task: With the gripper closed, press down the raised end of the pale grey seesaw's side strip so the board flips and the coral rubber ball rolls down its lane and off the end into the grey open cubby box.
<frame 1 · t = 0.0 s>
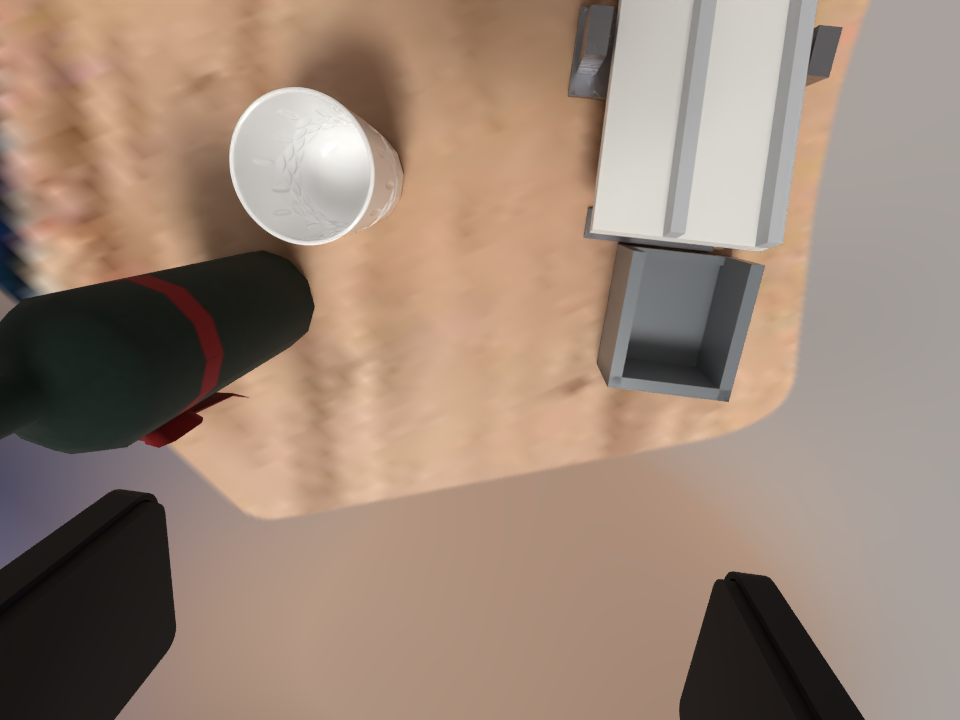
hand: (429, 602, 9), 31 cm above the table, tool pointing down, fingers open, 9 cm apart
white cup: (358, 177, 37), on the table
stand: (682, 64, 33), on the table
seesaw: (708, 39, 29), point 5 cm above the table, hinge at -15.0°, touching ball
grey open cubby box: (661, 312, 38), on the table
wine bottle: (266, 315, 41), on the table
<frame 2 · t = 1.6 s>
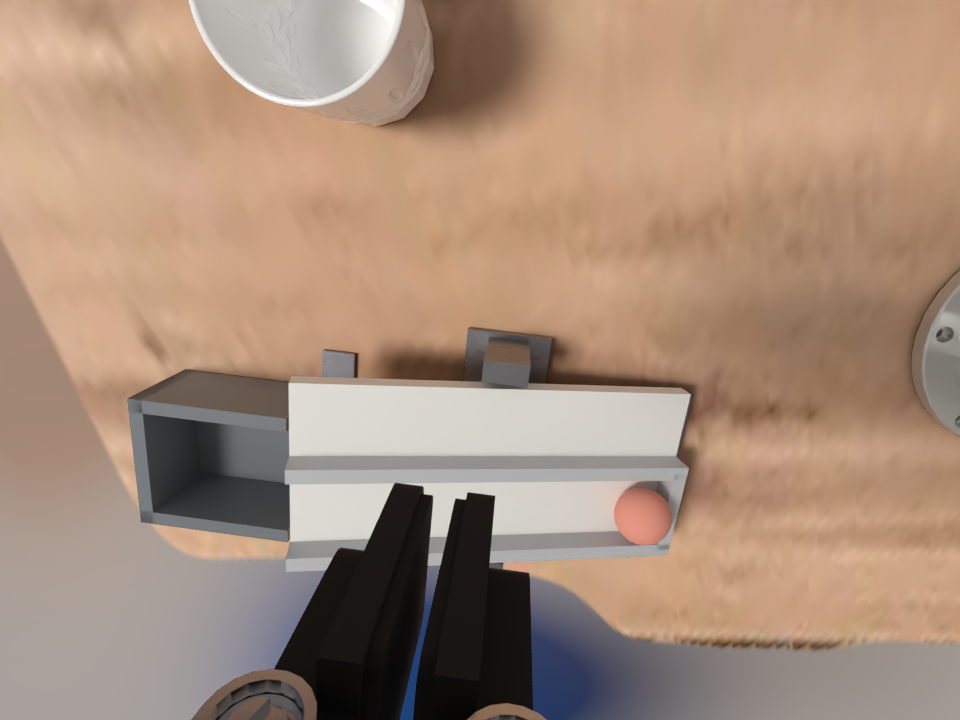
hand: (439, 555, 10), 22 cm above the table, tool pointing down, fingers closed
white cup: (373, 58, 28), on the table
stand: (497, 437, 33), on the table
seesaw: (496, 473, 29), point 5 cm above the table, hinge at -15.0°, touching ball
grey open cubby box: (254, 433, 35), on the table
ball: (642, 516, 30), point 4 cm above the table, tilted 21°, touching seesaw
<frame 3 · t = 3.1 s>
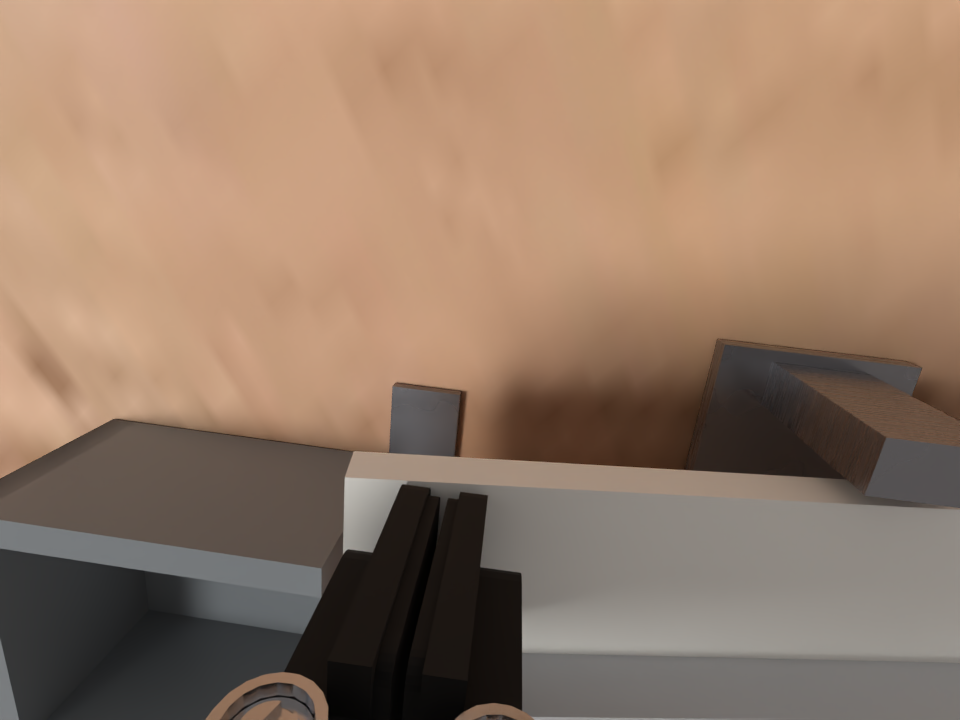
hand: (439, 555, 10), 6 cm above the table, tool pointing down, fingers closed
stand: (744, 562, 16), on the table
seesaw: (831, 701, 12), point 5 cm above the table, hinge at -9.0°, touching ball, gripper
grey open cubby box: (251, 542, 18), on the table
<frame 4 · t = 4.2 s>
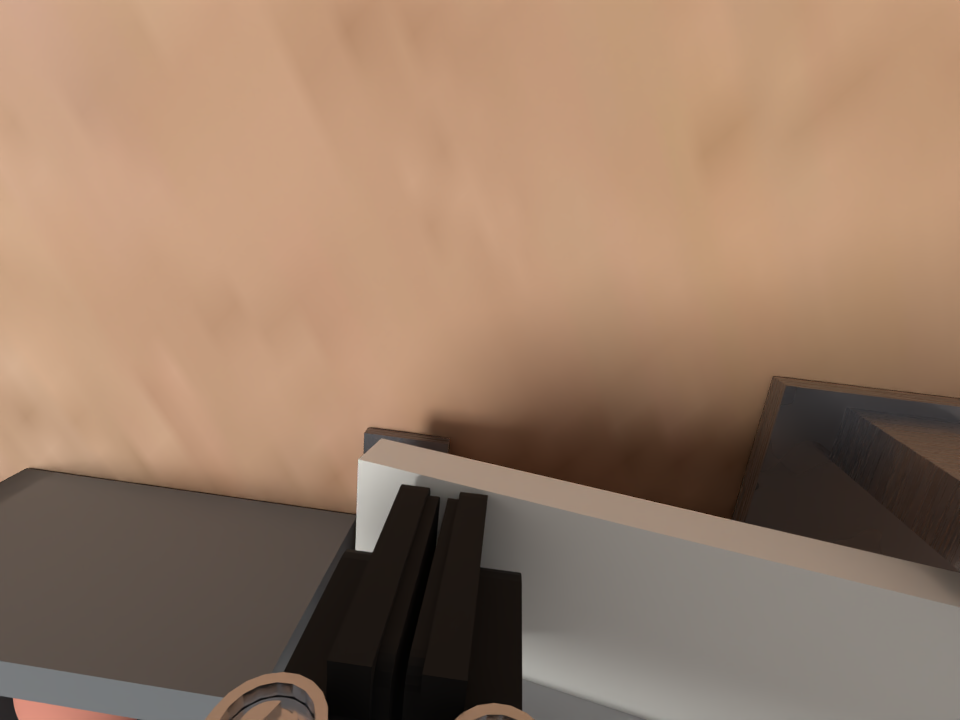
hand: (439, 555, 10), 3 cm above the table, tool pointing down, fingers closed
stand: (798, 645, 13), on the table
grey open cubby box: (198, 613, 15), on the table
ball: (99, 666, 13), point 2 cm above the table, tilted 64°, touching grey open cubby box
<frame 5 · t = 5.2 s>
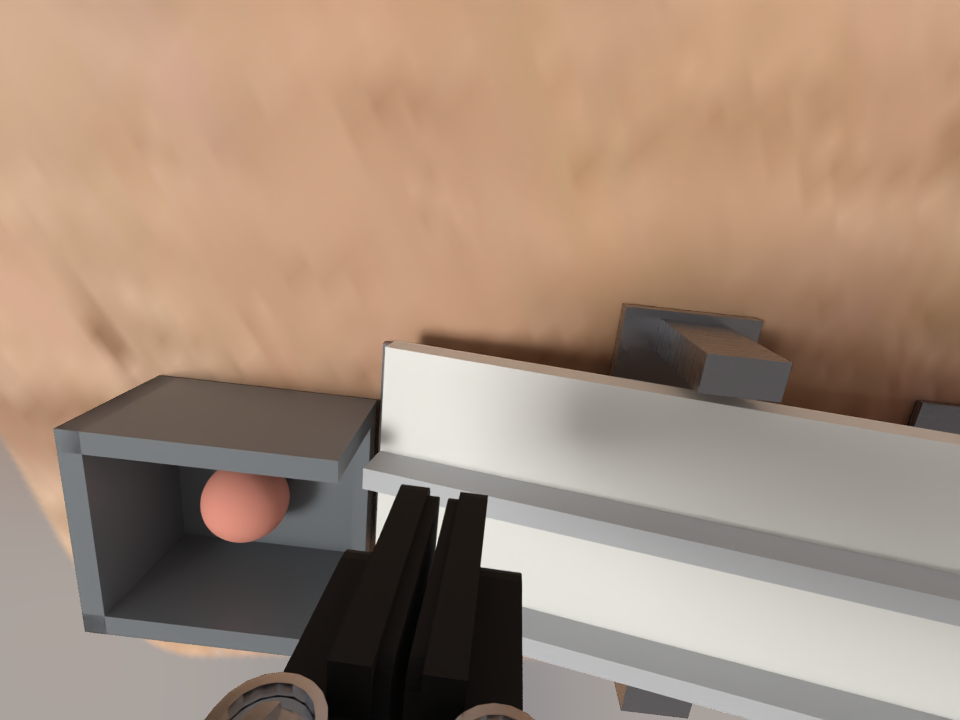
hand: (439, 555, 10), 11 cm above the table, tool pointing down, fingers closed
stand: (651, 475, 21), on the table
seesaw: (686, 547, 17), point 5 cm above the table, hinge at 11.1°
grey open cubby box: (269, 474, 22), on the table
ball: (246, 499, 20), point 2 cm above the table, tilted 109°, touching grey open cubby box
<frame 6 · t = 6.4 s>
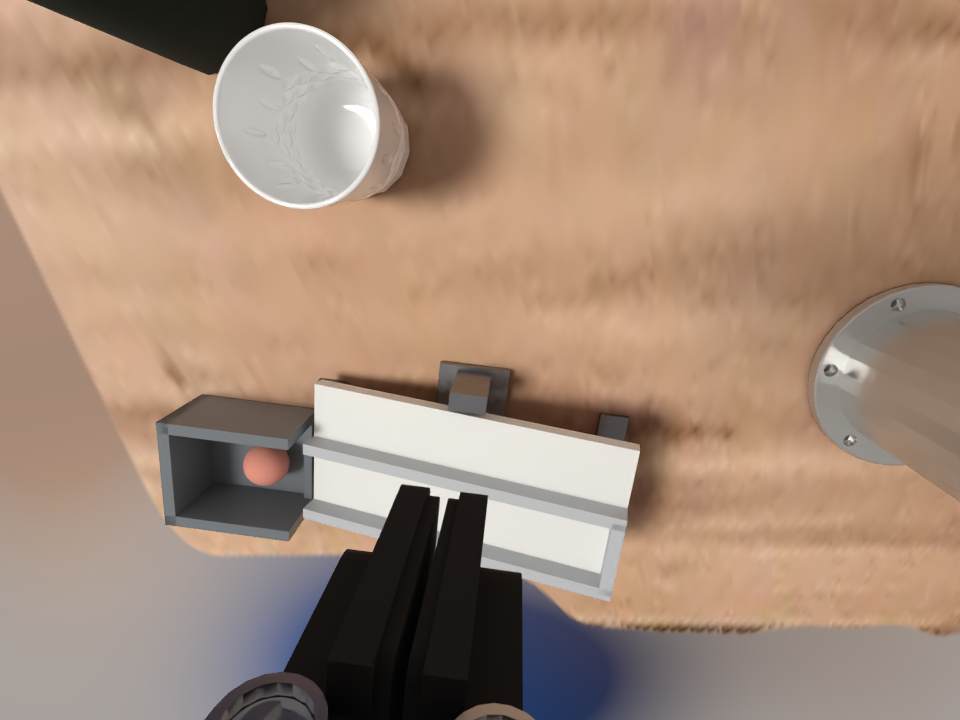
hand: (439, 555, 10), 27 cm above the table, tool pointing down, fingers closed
white cup: (360, 143, 34), on the table
stand: (466, 452, 39), on the table
seesaw: (457, 484, 35), point 5 cm above the table, hinge at 11.1°
grey open cubby box: (260, 448, 40), on the table
wine bottle: (188, 2, 32), on the table
ball: (266, 463, 39), point 2 cm above the table, tilted 163°, touching grey open cubby box
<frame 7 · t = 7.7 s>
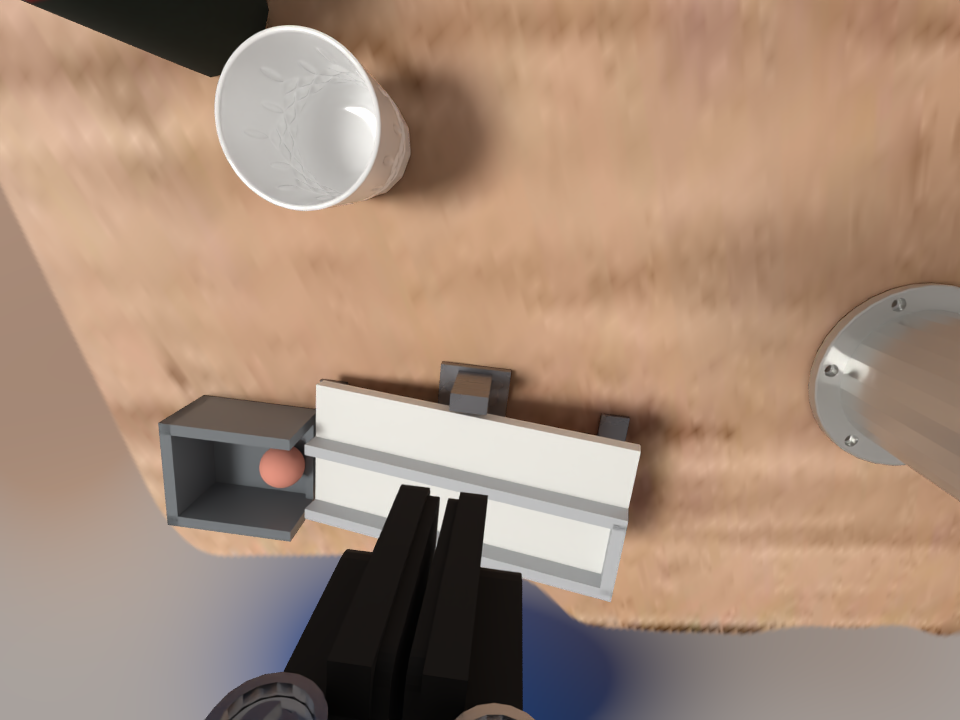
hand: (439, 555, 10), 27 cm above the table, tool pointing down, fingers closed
white cup: (361, 144, 34), on the table
stand: (467, 452, 39), on the table
seesaw: (458, 484, 35), point 5 cm above the table, hinge at 11.1°
grey open cubby box: (262, 449, 41), on the table
wine bottle: (189, 5, 32), on the table
ball: (282, 465, 39), point 2 cm above the table, tilted 158°, touching grey open cubby box
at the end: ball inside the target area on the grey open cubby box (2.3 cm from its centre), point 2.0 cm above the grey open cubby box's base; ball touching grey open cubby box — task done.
